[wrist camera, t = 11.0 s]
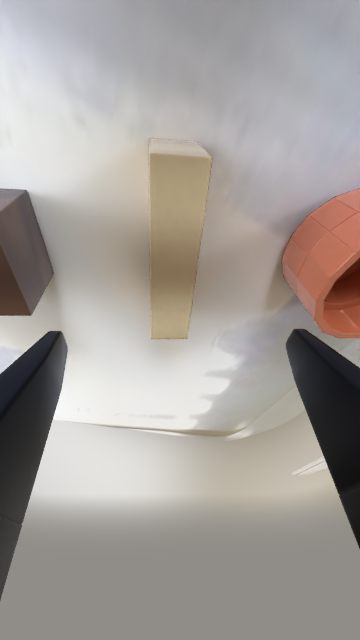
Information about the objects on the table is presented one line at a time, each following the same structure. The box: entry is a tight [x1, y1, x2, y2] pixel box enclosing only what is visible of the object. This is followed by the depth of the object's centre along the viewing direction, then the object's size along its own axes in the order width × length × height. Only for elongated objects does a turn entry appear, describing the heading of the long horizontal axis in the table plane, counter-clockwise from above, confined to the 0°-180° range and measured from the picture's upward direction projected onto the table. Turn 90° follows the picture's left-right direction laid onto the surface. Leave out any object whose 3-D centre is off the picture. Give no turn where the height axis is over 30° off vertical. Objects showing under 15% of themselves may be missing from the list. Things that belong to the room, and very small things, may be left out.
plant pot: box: [282, 188, 360, 338], centre depth 16 cm, size 8×8×6 cm
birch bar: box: [149, 138, 212, 339], centre depth 15 cm, size 11×3×4 cm, turn 176°
